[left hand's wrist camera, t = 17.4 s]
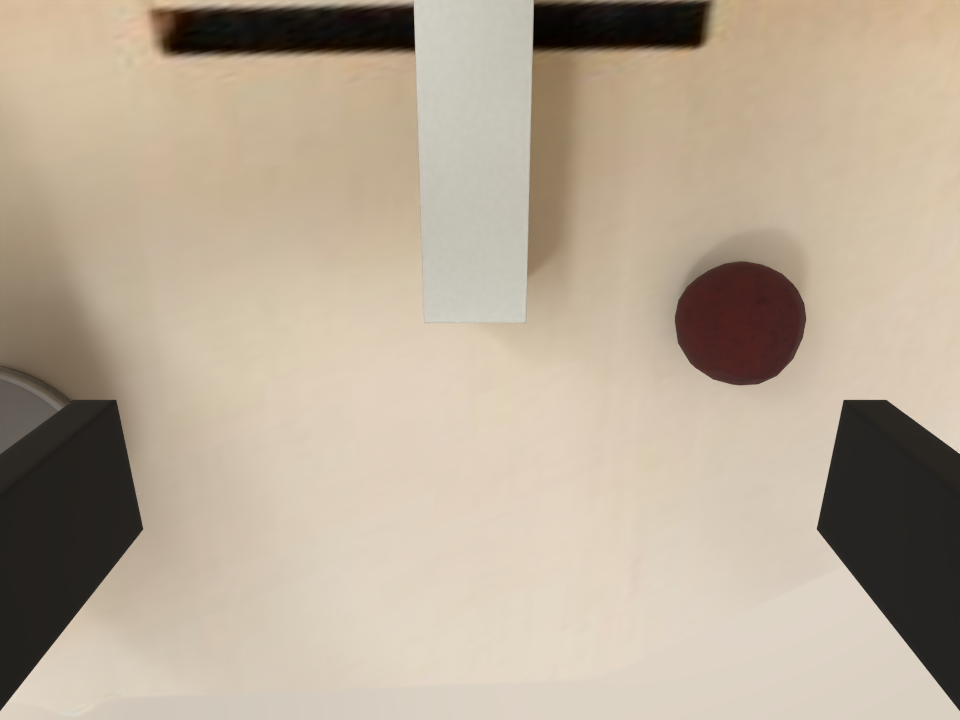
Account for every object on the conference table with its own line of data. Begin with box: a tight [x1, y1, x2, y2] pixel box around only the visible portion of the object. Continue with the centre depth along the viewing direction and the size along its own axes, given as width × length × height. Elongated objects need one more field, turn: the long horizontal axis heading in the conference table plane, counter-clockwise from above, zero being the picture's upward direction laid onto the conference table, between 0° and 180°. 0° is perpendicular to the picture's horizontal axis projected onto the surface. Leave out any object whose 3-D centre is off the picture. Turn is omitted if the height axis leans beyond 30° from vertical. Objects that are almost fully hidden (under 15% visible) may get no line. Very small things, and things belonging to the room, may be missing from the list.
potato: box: [675, 262, 806, 385], centre depth 42 cm, size 7×8×7 cm
